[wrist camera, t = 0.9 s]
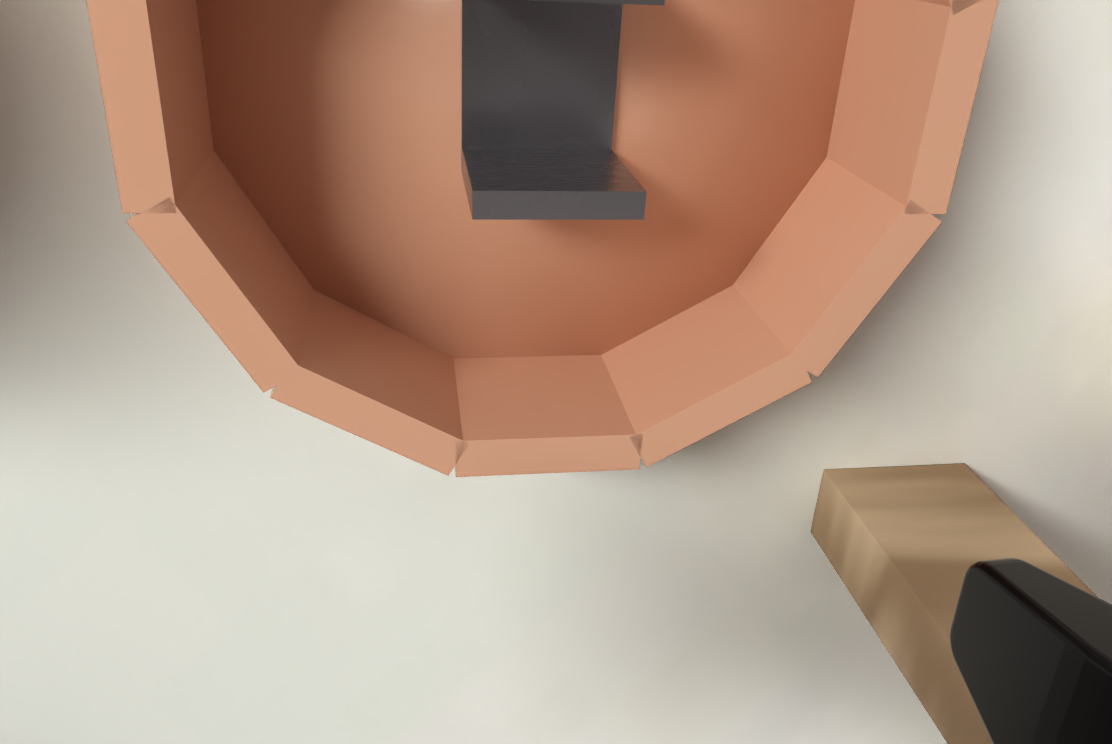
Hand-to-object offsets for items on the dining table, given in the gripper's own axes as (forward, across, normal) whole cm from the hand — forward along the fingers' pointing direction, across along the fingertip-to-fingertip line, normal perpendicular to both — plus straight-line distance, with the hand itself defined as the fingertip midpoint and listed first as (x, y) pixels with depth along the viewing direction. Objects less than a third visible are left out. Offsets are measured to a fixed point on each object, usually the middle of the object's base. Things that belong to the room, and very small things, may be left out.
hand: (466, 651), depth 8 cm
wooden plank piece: (+13, -12, +9) cm, 20 cm away
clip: (+13, -2, -3) cm, 14 cm away
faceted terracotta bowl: (+13, -2, -3) cm, 14 cm away
